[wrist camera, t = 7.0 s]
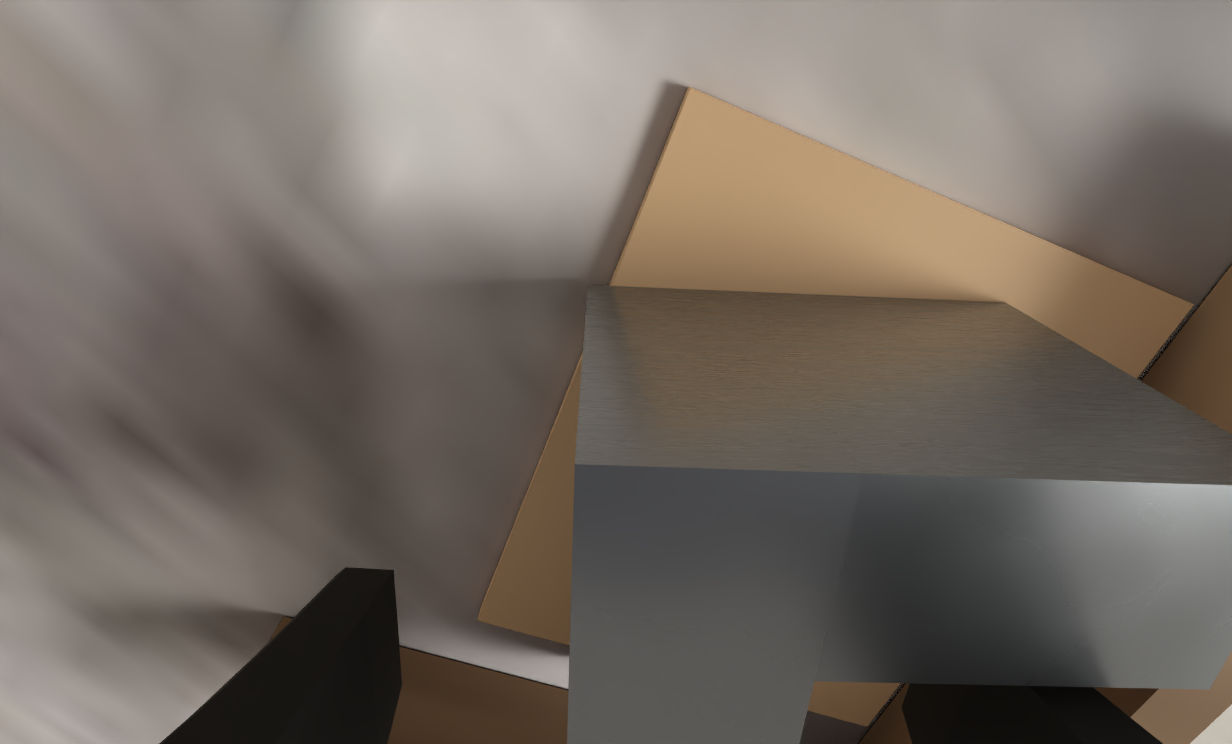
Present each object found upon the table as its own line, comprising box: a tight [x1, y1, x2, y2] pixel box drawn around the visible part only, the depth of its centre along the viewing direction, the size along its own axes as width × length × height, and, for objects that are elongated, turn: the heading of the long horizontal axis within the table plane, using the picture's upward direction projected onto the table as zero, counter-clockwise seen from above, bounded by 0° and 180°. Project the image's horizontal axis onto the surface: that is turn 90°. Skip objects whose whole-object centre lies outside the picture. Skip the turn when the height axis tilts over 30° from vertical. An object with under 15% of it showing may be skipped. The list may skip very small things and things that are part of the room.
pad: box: [477, 87, 1194, 727], centre depth 12 cm, size 10×8×1 cm
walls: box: [268, 265, 1232, 744], centre depth 10 cm, size 15×14×3 cm
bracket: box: [567, 285, 1232, 744], centre depth 10 cm, size 8×6×5 cm
